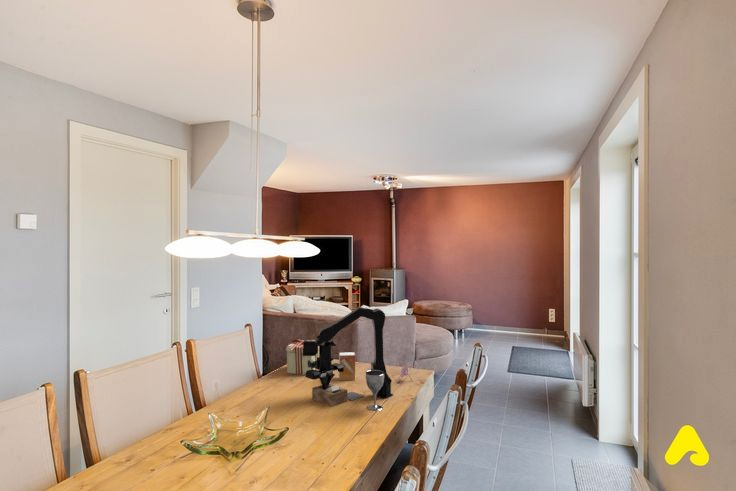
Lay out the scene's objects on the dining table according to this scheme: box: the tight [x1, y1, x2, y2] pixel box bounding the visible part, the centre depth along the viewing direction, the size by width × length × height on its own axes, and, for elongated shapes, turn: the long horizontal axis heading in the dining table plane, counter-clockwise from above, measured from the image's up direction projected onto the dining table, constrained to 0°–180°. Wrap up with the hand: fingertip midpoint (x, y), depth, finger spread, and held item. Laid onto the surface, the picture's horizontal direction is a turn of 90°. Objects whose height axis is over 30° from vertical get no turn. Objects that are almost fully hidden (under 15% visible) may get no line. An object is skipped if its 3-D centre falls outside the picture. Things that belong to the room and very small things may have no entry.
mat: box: [347, 391, 365, 402], centre depth 194 cm, size 8×8×1 cm
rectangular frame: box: [311, 383, 348, 407], centre depth 189 cm, size 13×9×5 cm
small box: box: [338, 351, 356, 381], centre depth 220 cm, size 8×6×13 cm
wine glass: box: [365, 369, 384, 412], centre depth 181 cm, size 8×8×15 cm
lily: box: [396, 362, 413, 384], centre depth 217 cm, size 12×12×10 cm
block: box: [326, 384, 340, 392], centre depth 190 cm, size 9×4×2 cm, turn 48°
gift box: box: [285, 338, 319, 376], centre depth 233 cm, size 17×18×17 cm
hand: (324, 390), depth 192 cm, fingers closed
